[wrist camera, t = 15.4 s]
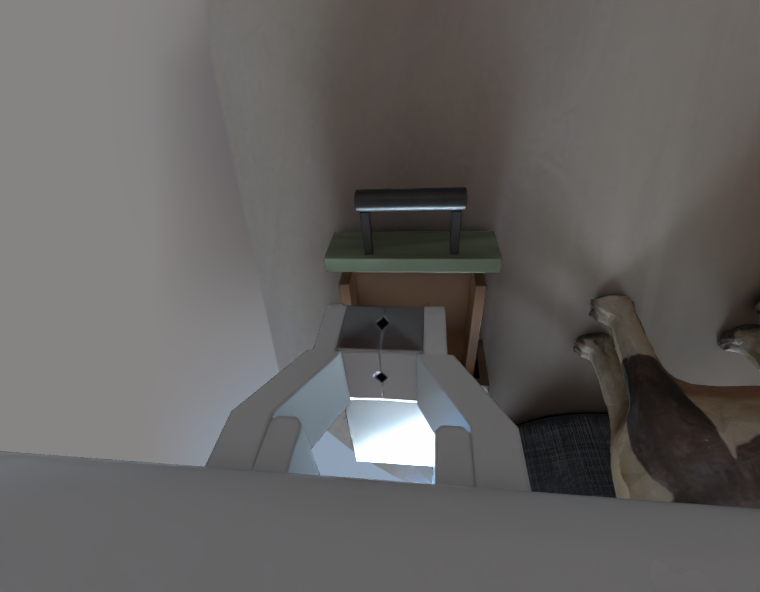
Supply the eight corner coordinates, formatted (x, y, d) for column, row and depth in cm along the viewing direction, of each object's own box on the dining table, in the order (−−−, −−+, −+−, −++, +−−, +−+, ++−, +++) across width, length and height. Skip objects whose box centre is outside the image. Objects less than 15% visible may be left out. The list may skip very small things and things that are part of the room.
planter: (622, 511, 57) (705, 730, 40) (459, 491, 58) (472, 695, 41) (729, 424, 41) (942, 730, 24) (498, 399, 42) (546, 672, 25)
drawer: (324, 173, 26) (311, 196, 23) (504, 168, 24) (514, 192, 22) (354, 353, 38) (348, 383, 35) (475, 358, 37) (479, 389, 34)
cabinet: (347, 335, 38) (337, 379, 33) (482, 339, 36) (490, 385, 32) (362, 419, 48) (356, 461, 43) (468, 424, 46) (472, 469, 42)
